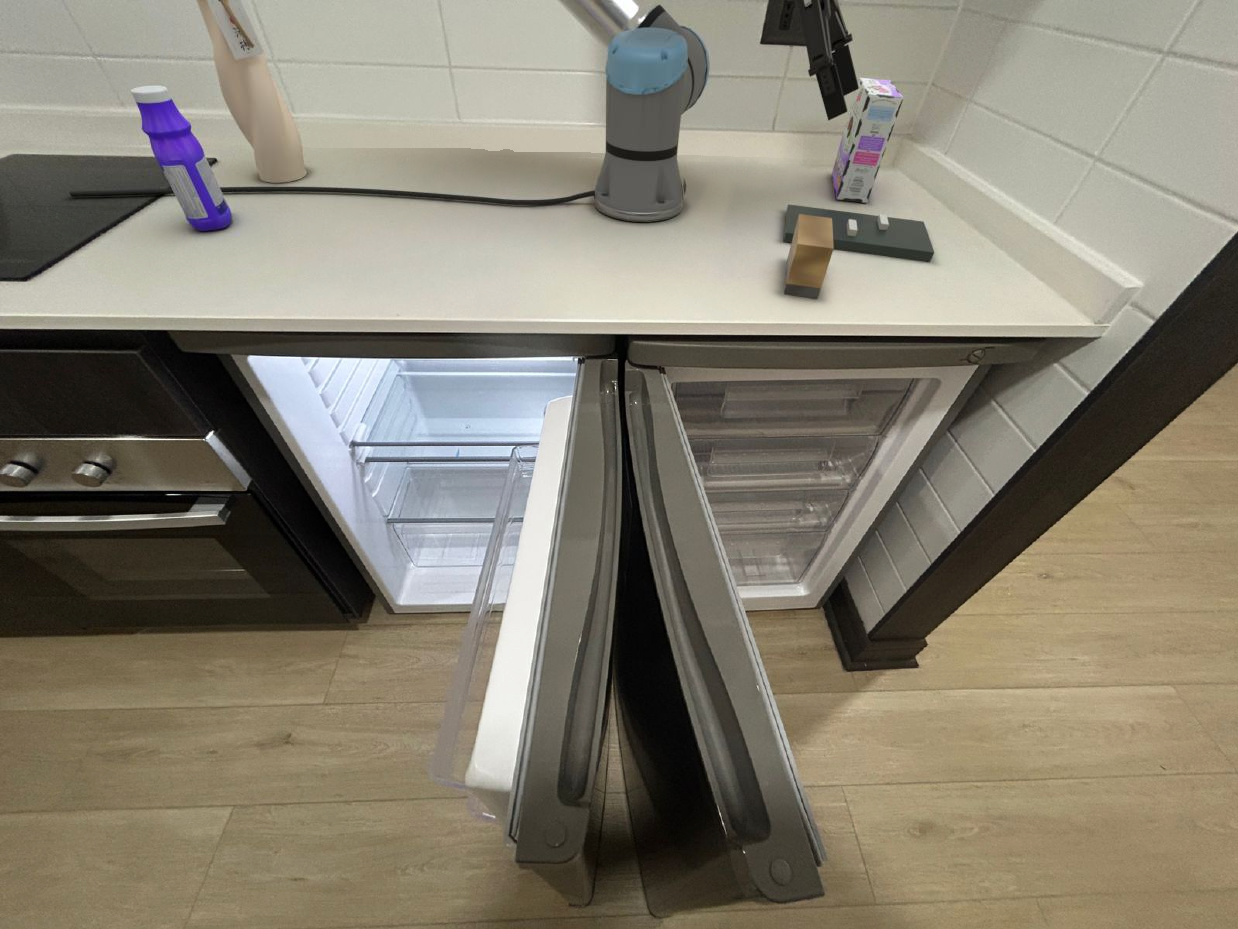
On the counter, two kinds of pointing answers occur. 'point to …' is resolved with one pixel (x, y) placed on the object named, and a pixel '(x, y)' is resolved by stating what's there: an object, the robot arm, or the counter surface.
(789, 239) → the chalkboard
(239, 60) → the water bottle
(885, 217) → the chalk
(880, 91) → the candy box
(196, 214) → the bottle
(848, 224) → the chalk
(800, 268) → the eraser
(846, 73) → the robot arm
